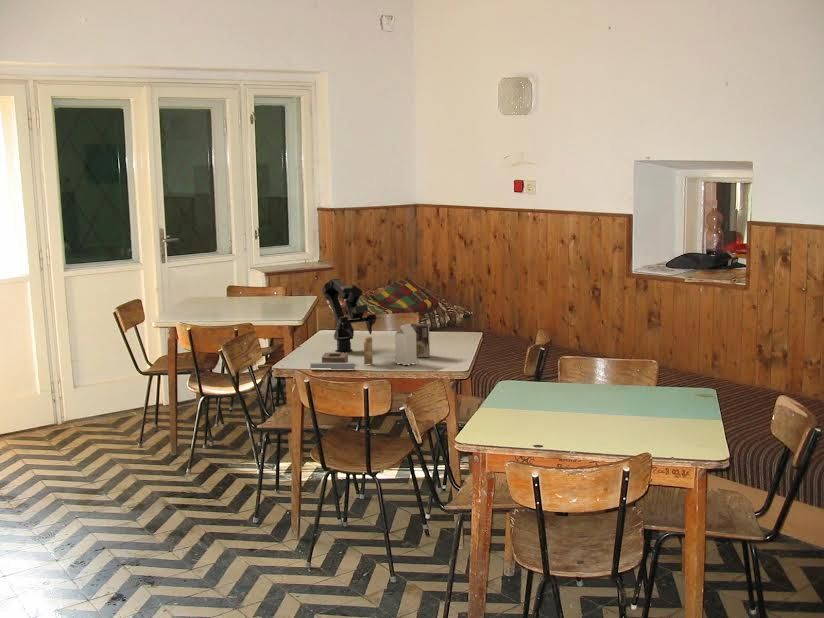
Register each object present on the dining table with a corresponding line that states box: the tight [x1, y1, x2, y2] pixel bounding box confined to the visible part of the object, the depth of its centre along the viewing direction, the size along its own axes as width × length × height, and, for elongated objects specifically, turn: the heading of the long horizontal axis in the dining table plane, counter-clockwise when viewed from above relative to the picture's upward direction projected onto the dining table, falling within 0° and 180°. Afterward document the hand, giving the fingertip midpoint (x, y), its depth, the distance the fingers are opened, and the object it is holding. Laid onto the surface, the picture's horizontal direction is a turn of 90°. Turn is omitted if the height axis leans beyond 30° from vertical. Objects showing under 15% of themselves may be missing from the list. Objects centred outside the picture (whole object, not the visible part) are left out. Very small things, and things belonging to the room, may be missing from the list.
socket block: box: [321, 352, 349, 363], centre depth 455 cm, size 11×11×5 cm
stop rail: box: [309, 362, 355, 370], centre depth 445 cm, size 2×20×4 cm, turn 87°
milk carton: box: [394, 323, 418, 366], centre depth 454 cm, size 7×7×19 cm
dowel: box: [363, 336, 374, 364], centre depth 455 cm, size 4×4×13 cm
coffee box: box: [410, 323, 431, 358], centre depth 470 cm, size 9×6×16 cm
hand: (362, 334), depth 461 cm, fingers open, 9 cm apart
